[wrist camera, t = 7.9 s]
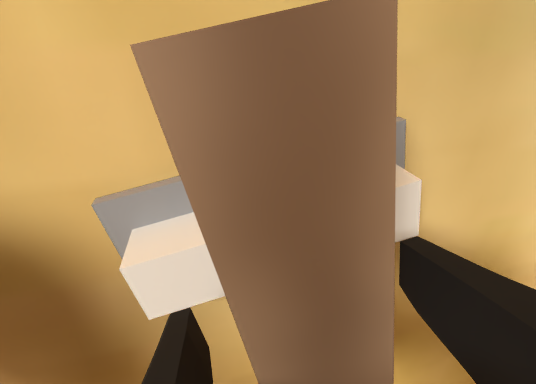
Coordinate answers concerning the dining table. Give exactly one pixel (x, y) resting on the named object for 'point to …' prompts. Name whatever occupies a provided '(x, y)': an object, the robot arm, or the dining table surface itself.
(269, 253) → the walnut bar
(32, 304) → the dining table surface
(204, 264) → the ridge
